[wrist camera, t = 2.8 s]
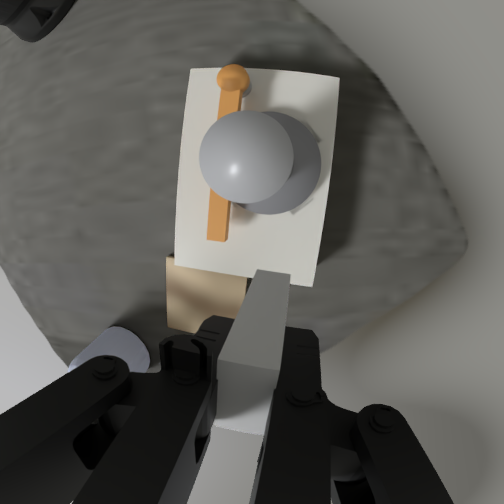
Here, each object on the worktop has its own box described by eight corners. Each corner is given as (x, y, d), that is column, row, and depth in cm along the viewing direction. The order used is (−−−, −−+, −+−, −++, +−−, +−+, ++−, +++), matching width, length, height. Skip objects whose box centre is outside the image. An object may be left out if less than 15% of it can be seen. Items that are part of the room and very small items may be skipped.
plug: (236, 120, 28) (170, 71, 12) (320, 128, 27) (347, 80, 11) (228, 200, 31) (155, 235, 15) (310, 211, 30) (325, 259, 14)
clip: (222, 68, 21) (218, 64, 20) (251, 69, 21) (249, 64, 19) (205, 235, 25) (201, 239, 24) (233, 239, 25) (230, 243, 24)
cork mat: (168, 255, 34) (166, 257, 33) (248, 268, 33) (247, 270, 32) (169, 325, 37) (167, 327, 36) (240, 340, 36) (239, 342, 35)
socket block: (206, 82, 27) (185, 64, 21) (333, 91, 26) (341, 73, 20) (191, 251, 33) (168, 269, 27) (310, 269, 32) (312, 293, 26)
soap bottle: (155, 343, 38) (60, 468, 15) (146, 380, 41) (70, 490, 18) (106, 315, 39) (-3, 413, 15) (102, 354, 42) (16, 446, 18)
